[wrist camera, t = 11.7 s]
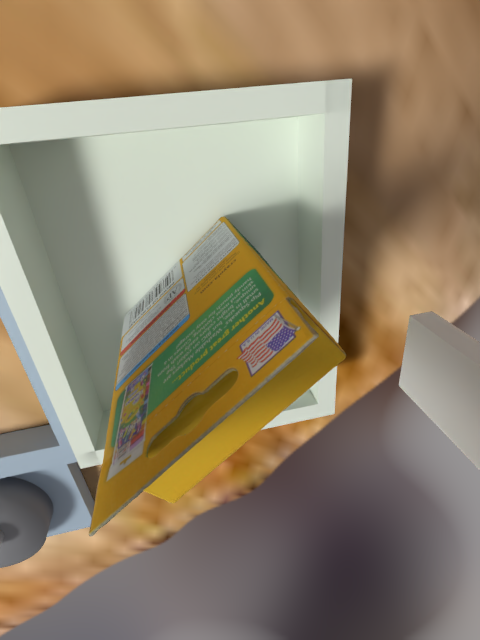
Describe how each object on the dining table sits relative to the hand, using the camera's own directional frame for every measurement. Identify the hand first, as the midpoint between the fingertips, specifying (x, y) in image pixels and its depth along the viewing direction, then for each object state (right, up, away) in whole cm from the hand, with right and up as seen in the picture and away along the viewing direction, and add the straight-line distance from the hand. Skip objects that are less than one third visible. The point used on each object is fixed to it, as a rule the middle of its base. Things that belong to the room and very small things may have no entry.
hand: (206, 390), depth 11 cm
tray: (-2, +4, +8) cm, 10 cm away
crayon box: (-1, +4, +8) cm, 9 cm away
